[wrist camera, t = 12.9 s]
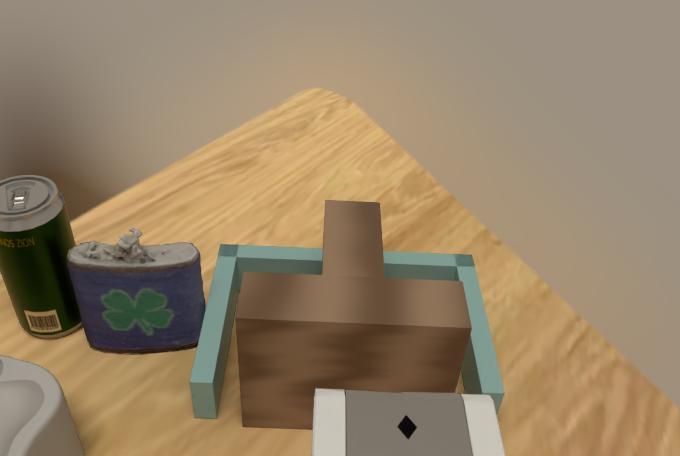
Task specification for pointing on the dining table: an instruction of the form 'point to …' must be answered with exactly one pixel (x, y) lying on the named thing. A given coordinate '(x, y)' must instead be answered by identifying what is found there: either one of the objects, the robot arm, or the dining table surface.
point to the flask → (138, 295)
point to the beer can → (37, 256)
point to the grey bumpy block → (34, 413)
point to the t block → (345, 327)
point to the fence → (238, 259)
